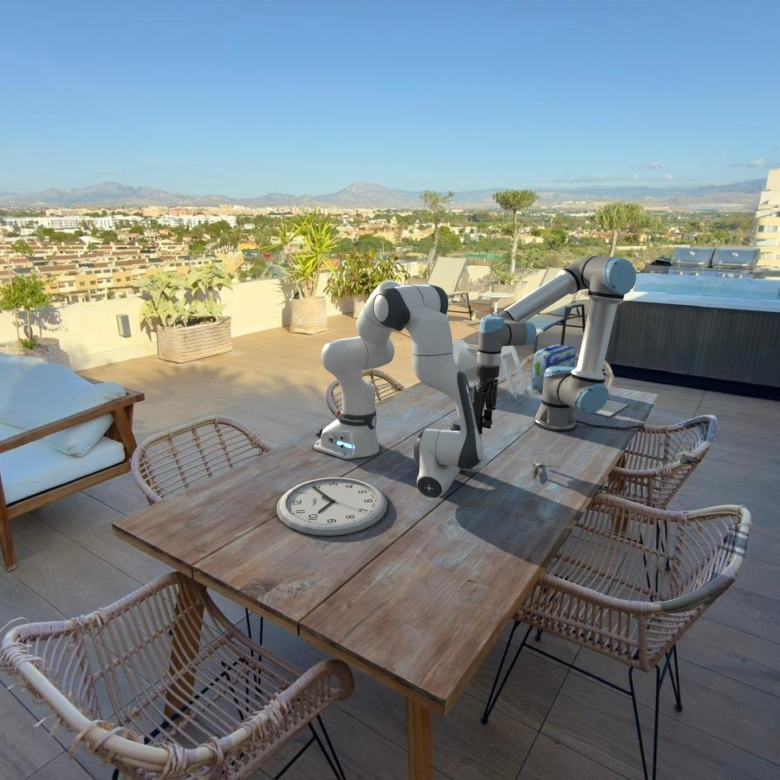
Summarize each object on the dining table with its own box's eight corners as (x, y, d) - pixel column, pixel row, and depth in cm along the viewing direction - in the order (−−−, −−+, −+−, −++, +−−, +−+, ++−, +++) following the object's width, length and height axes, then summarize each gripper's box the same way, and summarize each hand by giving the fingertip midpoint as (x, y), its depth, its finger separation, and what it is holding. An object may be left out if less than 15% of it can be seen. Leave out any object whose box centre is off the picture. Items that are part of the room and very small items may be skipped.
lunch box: (547, 397, 237) (552, 352, 231) (526, 391, 245) (531, 348, 238) (574, 386, 255) (580, 344, 249) (554, 381, 262) (559, 340, 256)
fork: (529, 479, 159) (530, 473, 158) (534, 459, 173) (535, 453, 173) (538, 481, 158) (539, 475, 158) (543, 460, 172) (543, 454, 172)
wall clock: (392, 527, 129) (268, 531, 127) (391, 533, 130) (269, 537, 127) (383, 473, 158) (282, 475, 155) (383, 478, 158) (282, 480, 156)
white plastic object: (461, 429, 252) (437, 405, 227) (444, 352, 274) (420, 323, 250) (535, 404, 240) (518, 377, 215) (510, 326, 262) (492, 293, 237)
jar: (465, 472, 164) (468, 426, 159) (448, 470, 164) (450, 425, 160) (465, 464, 169) (468, 420, 164) (448, 463, 169) (451, 419, 165)
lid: (479, 418, 181) (479, 414, 180) (495, 423, 177) (495, 418, 177) (470, 423, 176) (470, 418, 176) (486, 427, 173) (486, 423, 172)
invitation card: (608, 416, 214) (573, 407, 224) (608, 416, 214) (573, 408, 224) (628, 404, 229) (594, 396, 238) (628, 405, 229) (594, 397, 238)
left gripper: (481, 461, 148) (492, 443, 161) (414, 448, 156) (428, 432, 168) (480, 481, 150) (490, 462, 163) (413, 468, 158) (428, 451, 170)
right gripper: (490, 357, 180) (484, 420, 187) (464, 367, 165) (459, 435, 172) (510, 361, 176) (504, 425, 183) (486, 372, 161) (479, 441, 168)
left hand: (458, 447), depth 165 cm, fingers closed on jar, 5 cm apart
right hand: (482, 430), depth 177 cm, fingers closed on lid, 6 cm apart
